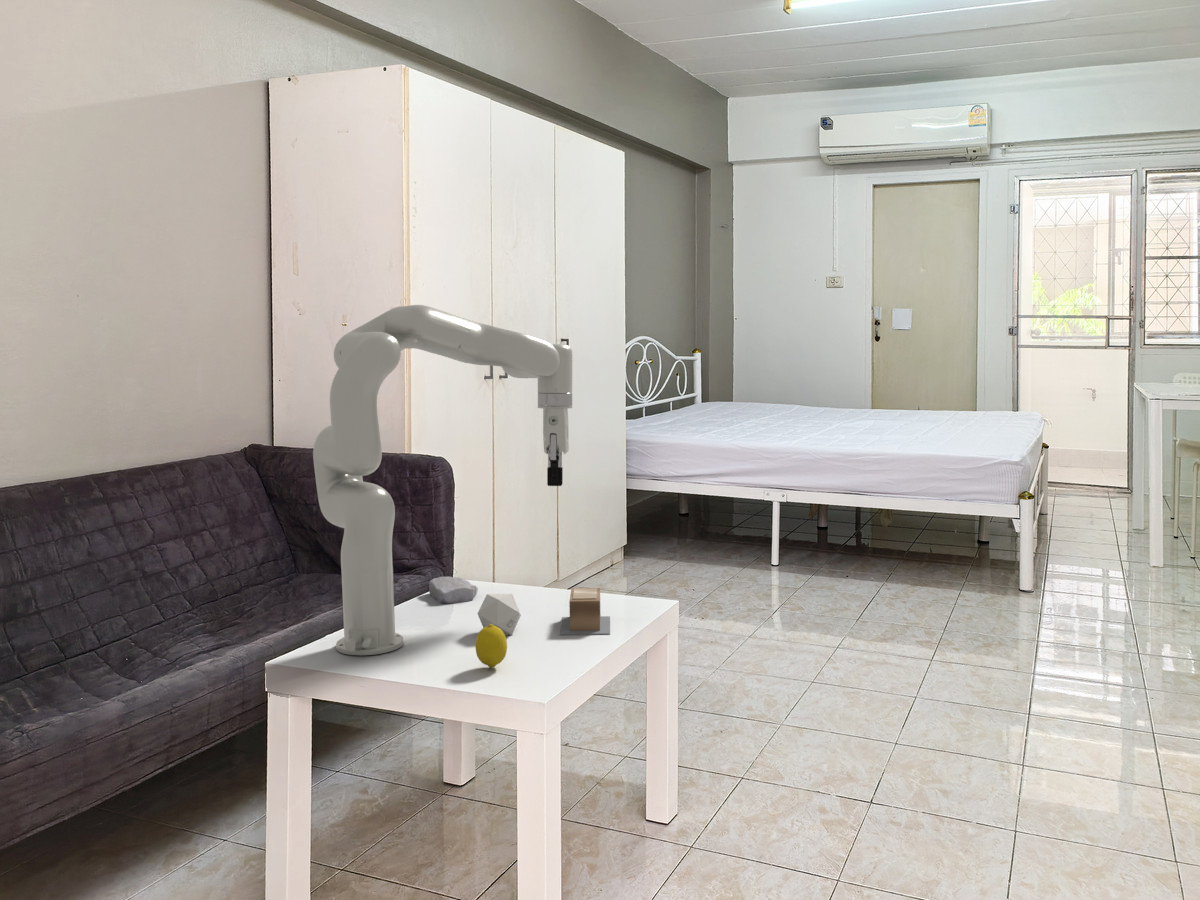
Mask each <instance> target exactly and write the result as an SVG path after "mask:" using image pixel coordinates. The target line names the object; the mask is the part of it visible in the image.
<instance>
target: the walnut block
mask: <svg viewBox="0 0 1200 900" xmlns="http://www.w3.org/2000/svg"><path fill="white" fill-rule="evenodd" d="M568 603H569V605H568V607H569V617H570V631H600V616H601V587H572V588H571V590H570V597H569V601H568Z"/></svg>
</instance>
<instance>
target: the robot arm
mask: <svg viewBox="0 0 1200 900" xmlns="http://www.w3.org/2000/svg"><path fill="white" fill-rule="evenodd" d="M405 349H407V350H409V349H415V350H416V349H417V350H421V351H424V352H427V353H431V354H435V355H438V356H442V357H444V358H448V359H451V360H454V361H458V362H461V363H464V364H470V365H477V366H493V367H494V366H495V367H501V368H502V370H503V372H505V374H506V375H508V376H510V377H513V378H517V379H537V409H542V434H543V440H542V441H543V452H544V454H546V455H547V467H546V468H547V469H546V470H547V474H546V475H547V476H546V477H547V480H546V481H547V483H546V486H548V487H561V486H563V477H564V476H563V470H564V469H563V466H562V465H563V455H566V454H567V453H568V452H569V450H570V447H569V446H570V445H569V444H570V443H569V411H568V409H573V350H572V347H571V346H570V345H568V344H563V343H562V344H561V343H560V344H559V343H558V344H556V343H554V344H553V343H551V342H548V341H545V340H544V339H539V338H537V337H534V336H532V335H531V336H530V335H528V334H524V333H521V332H517V331H512V330H508V329H505V328H500V327H497V326H492V325H489V324H484V323H480V322H477V321H473V320H470V319H467V318H464V317H461V316H459V315H458V316H457V315H455V314H452V313H449V312H446V311H443V310H440V309H438V308H434V307H431V306H428V305H423V304H411V305H403V306H397V307H393V308H391V309H389V310H387V311H385V312H383V313H381V314H379V315H378V316H376V317H374V318H373V319H371V320H369V321H367V322H366V323H363V324H362V325H360V326H358V327H356V328H355V329H353V330H351V331H349V332H347V333H346V334H344V335H342V337H341V338H340V339H338V341H337V343H336V344H335V346H334V350H333V359H334V362H335V365H336V367H337V368H338V369H337V371H336V372H335V375H334V377H333V379H332V383H331V386H330V391H329V409H330V423H331V424H330V425H328V426H326V427H324V428H323V429H322V430H321V431H320V432H319V433H318V435H317V436H316V439H315V441H314V444H313V450H312V457H313V468H314V476H315V485H316V492H317V499H318V505H319V508H320V512H321V513H322V516H323V518H325V519H326V520H327V522H329V523H330V524H332V525H333V526H336V527H339V528H342V529H343V530H344V531H343V537H342V543H341V548H340V569H341V589H342V590H341V591H342V592H341V593H342V615H343V635H344V636H343V637H342V638H339V639H338V640H337V641H336V644H335V646H336V650H337V651H338V652H339V653H341V654H343V655H349V656H374V655H380V654H386V653H389V652H393V651H396V650H398V649H399V648H401V647H403V645H404V643H405V642H404V641H405V640H404V636H403V635H402V634H400V633H397V632H396V622H395V621H396V620H395V597H394V596H395V595H394V593H395V592H394V589H395V588H394V564H393V533H394V526H395V520H396V506H395V503H394V499H393V498H392V496H391V494H390V493H389V492H388V491H387V490H386V489H385V488H383V486H380V485H379V484H376V483H372V482H367V481H364V480H363V477H364V476H369V475H371V474H372V473H375V471H376V470H378V468H379V467H380V465H381V462H382V457H383V456H382V455H383V451H382V443H381V435H380V433H381V432H380V425H379V417H378V394H379V390H380V388H381V386H382V384H383V382H384V381H385V379H386V378H387V377H388V376H389V375H390V374H391V373H392V372H393V371H395V369H396V368H397V367H398V364H399V362H400V360H401V354H402V351H404V350H405Z"/></svg>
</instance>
